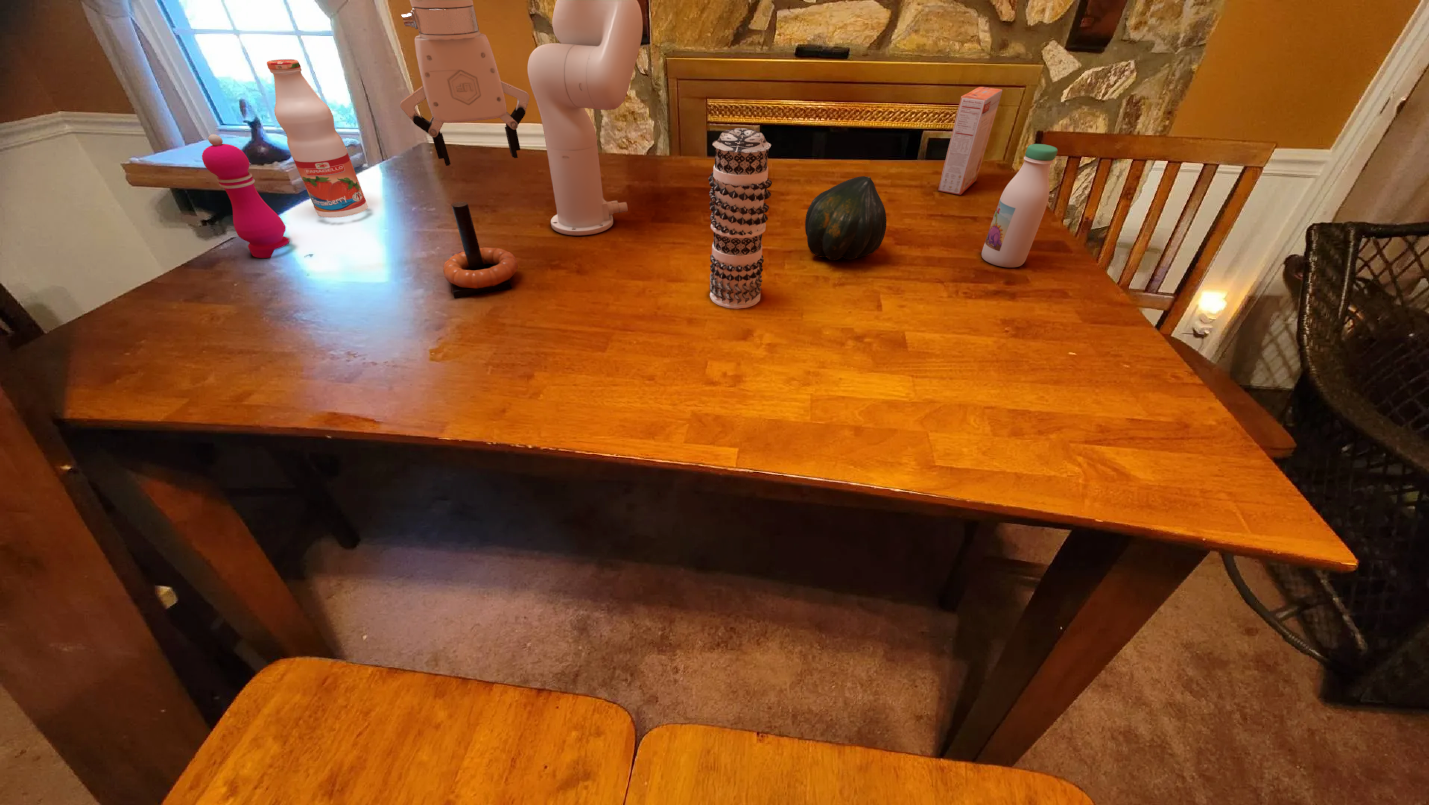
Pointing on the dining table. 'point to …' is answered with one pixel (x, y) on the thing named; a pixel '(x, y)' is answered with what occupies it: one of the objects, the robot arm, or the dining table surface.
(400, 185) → the dining table surface
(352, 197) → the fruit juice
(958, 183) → the cracker box
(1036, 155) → the milk bottle
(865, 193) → the squash
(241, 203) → the pepper mill
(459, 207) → the stand
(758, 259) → the decorative candle
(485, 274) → the ring
